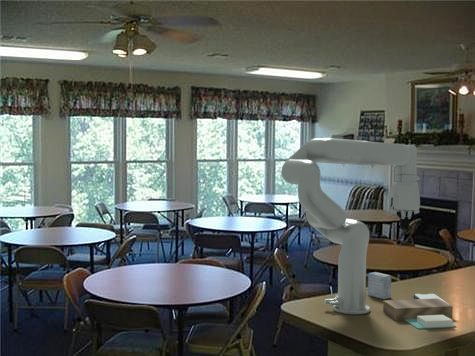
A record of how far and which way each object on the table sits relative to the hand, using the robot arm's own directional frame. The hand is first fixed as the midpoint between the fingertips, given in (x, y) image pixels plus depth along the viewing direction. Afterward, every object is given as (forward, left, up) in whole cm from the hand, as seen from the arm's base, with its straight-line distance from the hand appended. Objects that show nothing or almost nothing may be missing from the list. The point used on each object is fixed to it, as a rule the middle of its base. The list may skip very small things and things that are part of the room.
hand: (404, 229), depth 206 cm
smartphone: (+11, 0, -28) cm, 30 cm away
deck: (-2, -15, -27) cm, 31 cm away
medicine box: (-5, +10, -27) cm, 30 cm away
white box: (-2, -27, -25) cm, 36 cm away
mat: (-3, -25, -27) cm, 37 cm away
